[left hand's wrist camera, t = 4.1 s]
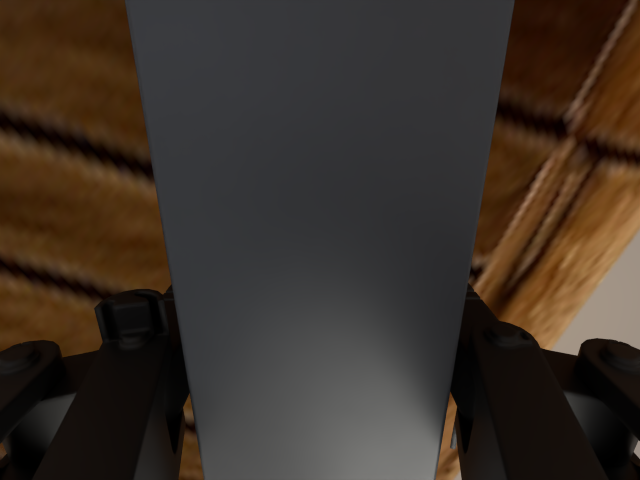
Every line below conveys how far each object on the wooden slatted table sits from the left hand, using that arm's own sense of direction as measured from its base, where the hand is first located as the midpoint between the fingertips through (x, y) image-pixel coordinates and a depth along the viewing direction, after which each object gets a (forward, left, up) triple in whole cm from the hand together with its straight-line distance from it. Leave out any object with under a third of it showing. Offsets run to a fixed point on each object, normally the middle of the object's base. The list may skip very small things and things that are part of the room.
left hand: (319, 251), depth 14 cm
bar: (-2, +9, -1) cm, 9 cm away
